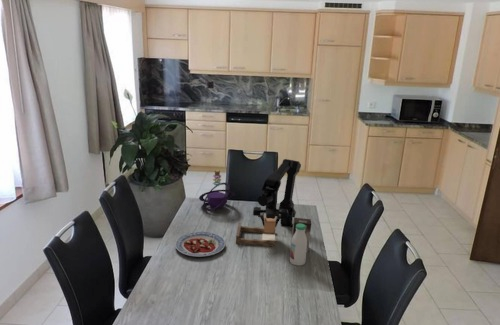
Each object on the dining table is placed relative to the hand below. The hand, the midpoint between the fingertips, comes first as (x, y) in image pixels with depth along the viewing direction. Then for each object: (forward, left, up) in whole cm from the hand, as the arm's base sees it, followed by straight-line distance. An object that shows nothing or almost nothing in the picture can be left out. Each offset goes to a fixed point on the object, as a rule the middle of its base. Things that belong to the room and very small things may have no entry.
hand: (269, 226), depth 209 cm
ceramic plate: (+36, +14, -8) cm, 39 cm away
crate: (0, 0, -2) cm, 2 cm away
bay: (+7, 0, -7) cm, 10 cm away
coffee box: (-16, +8, -8) cm, 20 cm away
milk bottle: (-14, +22, -8) cm, 27 cm away
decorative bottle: (+35, -38, -8) cm, 52 cm away
